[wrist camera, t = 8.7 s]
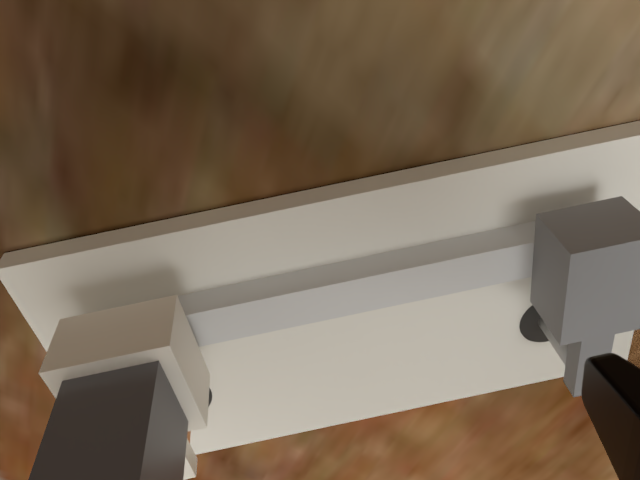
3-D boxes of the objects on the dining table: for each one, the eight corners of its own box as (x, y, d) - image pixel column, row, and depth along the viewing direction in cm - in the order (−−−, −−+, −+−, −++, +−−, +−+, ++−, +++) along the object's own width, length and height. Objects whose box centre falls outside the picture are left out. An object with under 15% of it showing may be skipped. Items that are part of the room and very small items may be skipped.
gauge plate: (614, 348, 27) (676, 427, 23) (126, 451, 27) (108, 548, 23) (660, 116, 20) (760, 175, 16) (3, 253, 20) (-52, 345, 16)
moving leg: (232, 406, 24) (230, 633, 17) (140, 425, 24) (99, 661, 17) (179, 274, 19) (147, 504, 12) (68, 298, 19) (-27, 541, 12)
